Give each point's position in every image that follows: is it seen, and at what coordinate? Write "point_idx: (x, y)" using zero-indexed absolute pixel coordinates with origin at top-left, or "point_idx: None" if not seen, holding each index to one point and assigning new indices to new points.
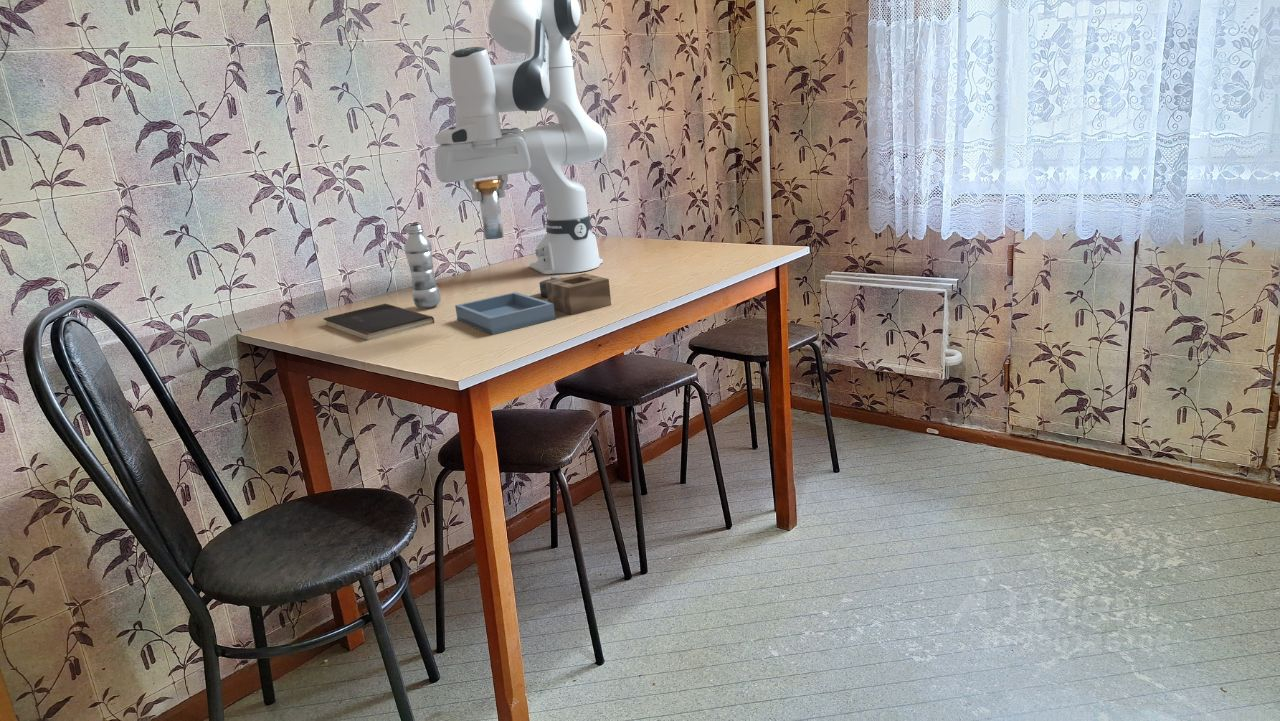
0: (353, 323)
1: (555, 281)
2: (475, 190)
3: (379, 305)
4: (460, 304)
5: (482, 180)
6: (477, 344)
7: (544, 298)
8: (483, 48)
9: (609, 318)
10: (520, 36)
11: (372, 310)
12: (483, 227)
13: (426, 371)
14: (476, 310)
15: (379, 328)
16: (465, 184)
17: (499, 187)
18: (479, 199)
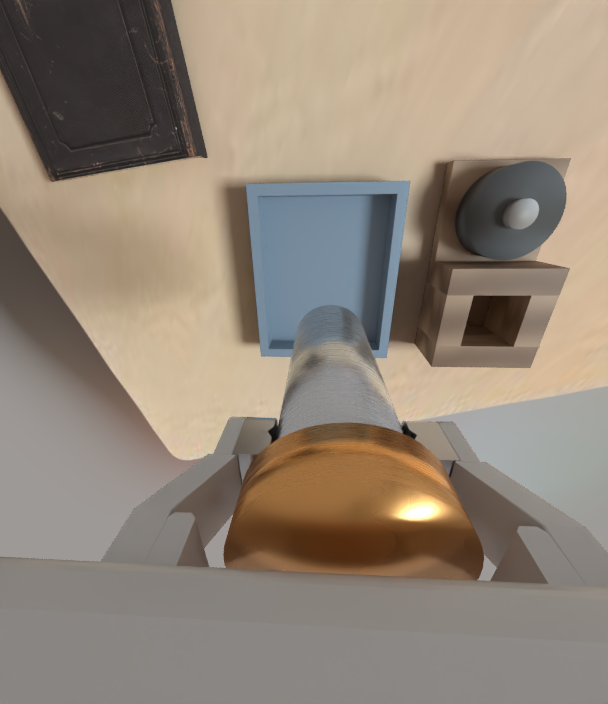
0: (3, 25)
1: (466, 287)
2: (227, 515)
3: None
4: (258, 186)
5: (341, 525)
6: (231, 369)
7: (449, 229)
8: None
9: (429, 404)
10: None
11: None
12: (294, 344)
13: (149, 416)
14: (294, 196)
15: (77, 165)
16: (135, 528)
17: (458, 486)
18: None
